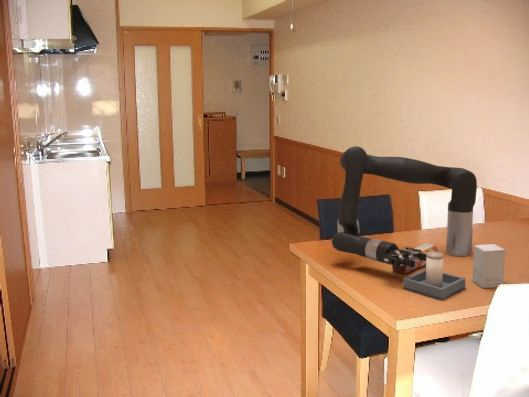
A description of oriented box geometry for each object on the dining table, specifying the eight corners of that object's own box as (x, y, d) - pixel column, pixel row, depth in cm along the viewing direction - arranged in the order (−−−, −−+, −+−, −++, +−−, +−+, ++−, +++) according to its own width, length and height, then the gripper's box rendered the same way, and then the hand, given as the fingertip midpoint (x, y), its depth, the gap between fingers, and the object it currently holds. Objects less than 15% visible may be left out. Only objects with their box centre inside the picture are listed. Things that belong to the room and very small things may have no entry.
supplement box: (503, 287, 178) (506, 249, 175) (481, 288, 177) (483, 251, 175) (492, 279, 185) (494, 243, 182) (471, 280, 184) (473, 244, 182)
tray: (427, 278, 188) (427, 268, 187) (465, 288, 178) (465, 278, 177) (403, 288, 179) (403, 278, 178) (441, 300, 169) (442, 289, 168)
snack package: (406, 276, 191) (406, 257, 190) (390, 272, 196) (390, 254, 194) (438, 262, 205) (438, 244, 204) (422, 258, 210) (423, 241, 208)
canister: (431, 282, 182) (432, 250, 179) (445, 286, 178) (446, 253, 176) (422, 286, 178) (423, 254, 176) (436, 290, 175) (437, 257, 172)
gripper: (368, 245, 187) (409, 255, 175) (393, 236, 196) (434, 245, 184) (368, 266, 188) (409, 277, 176) (393, 256, 197) (433, 267, 185)
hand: (421, 261), depth 180 cm, fingers open, 8 cm apart
